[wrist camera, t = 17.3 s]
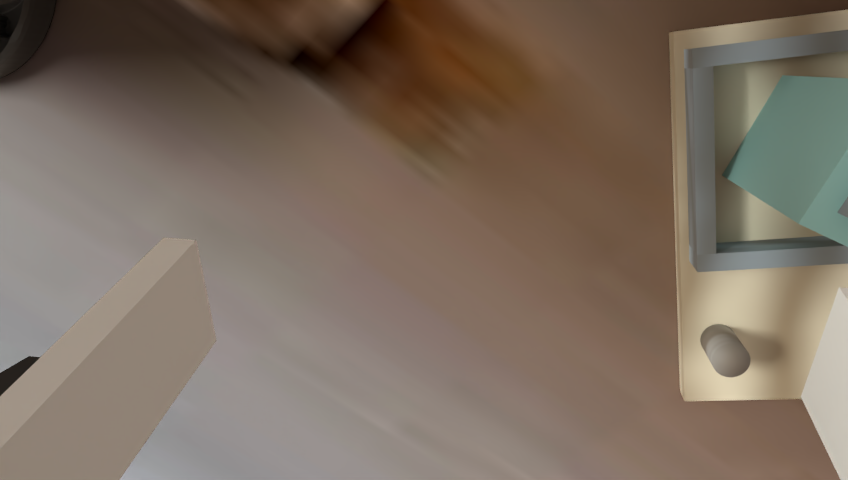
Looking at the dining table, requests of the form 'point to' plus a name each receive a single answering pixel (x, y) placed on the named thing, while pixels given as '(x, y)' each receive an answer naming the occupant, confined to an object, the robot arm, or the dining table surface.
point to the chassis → (745, 214)
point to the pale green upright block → (800, 154)
